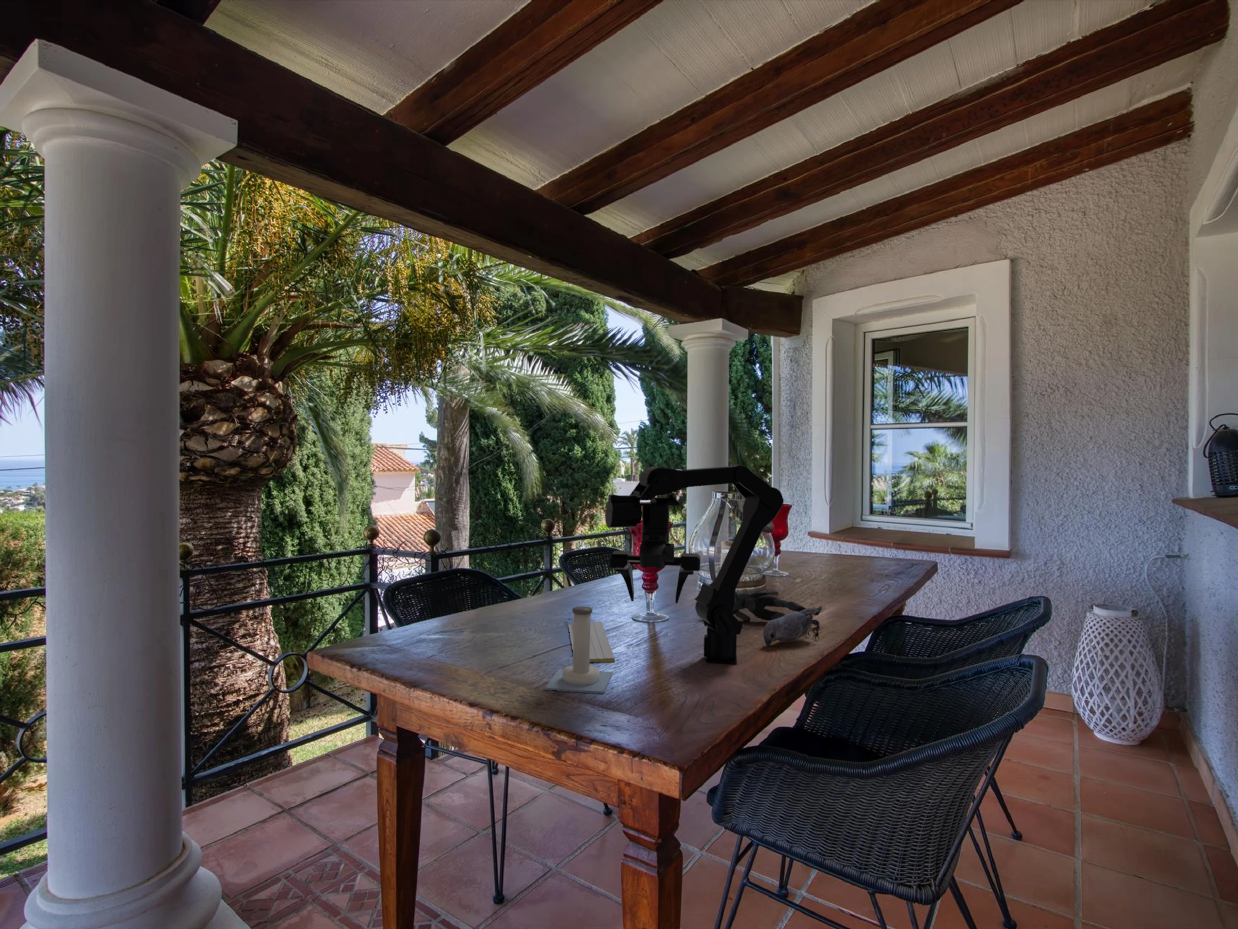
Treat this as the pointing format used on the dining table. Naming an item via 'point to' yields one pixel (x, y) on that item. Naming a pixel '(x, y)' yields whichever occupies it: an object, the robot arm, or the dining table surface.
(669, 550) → the robot arm
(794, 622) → the bird
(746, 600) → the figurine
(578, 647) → the paper towel holder
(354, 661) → the dining table surface
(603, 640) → the baseboard
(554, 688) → the felt pad
